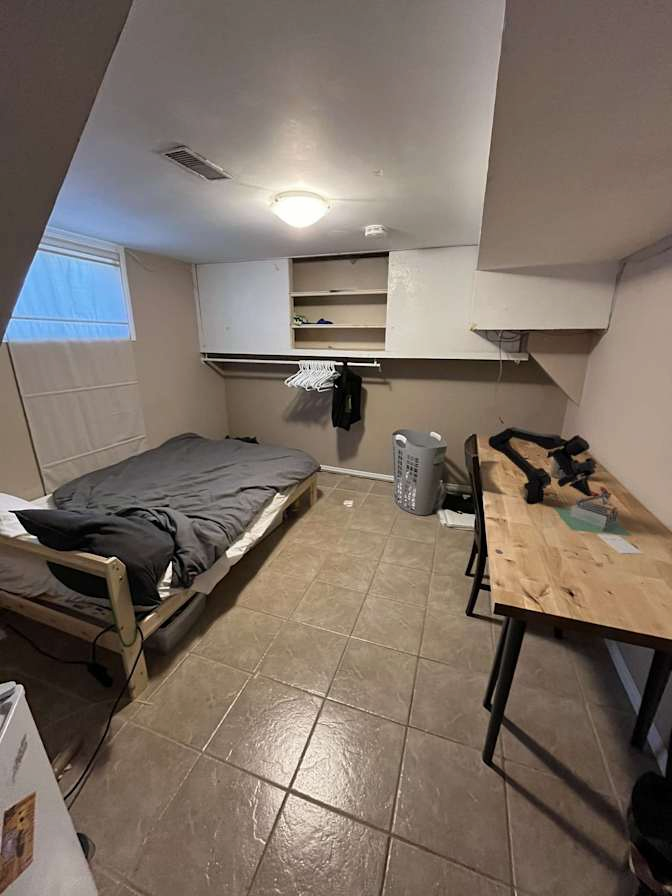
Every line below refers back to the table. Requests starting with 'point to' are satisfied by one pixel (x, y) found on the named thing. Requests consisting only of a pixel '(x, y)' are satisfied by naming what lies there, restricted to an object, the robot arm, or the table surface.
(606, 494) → the dark metal plate
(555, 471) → the spray can
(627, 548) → the external hard drive
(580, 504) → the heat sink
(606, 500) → the pliers
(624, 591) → the table surface
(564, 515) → the green square mat
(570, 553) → the table surface
